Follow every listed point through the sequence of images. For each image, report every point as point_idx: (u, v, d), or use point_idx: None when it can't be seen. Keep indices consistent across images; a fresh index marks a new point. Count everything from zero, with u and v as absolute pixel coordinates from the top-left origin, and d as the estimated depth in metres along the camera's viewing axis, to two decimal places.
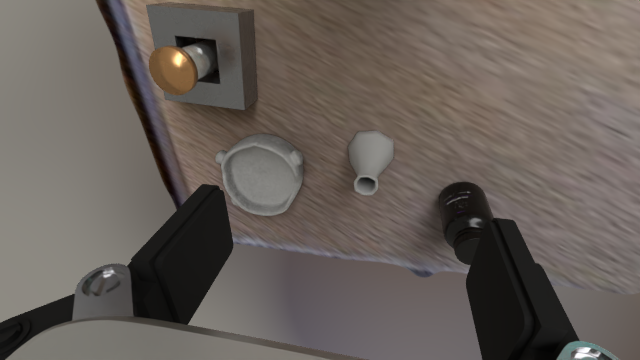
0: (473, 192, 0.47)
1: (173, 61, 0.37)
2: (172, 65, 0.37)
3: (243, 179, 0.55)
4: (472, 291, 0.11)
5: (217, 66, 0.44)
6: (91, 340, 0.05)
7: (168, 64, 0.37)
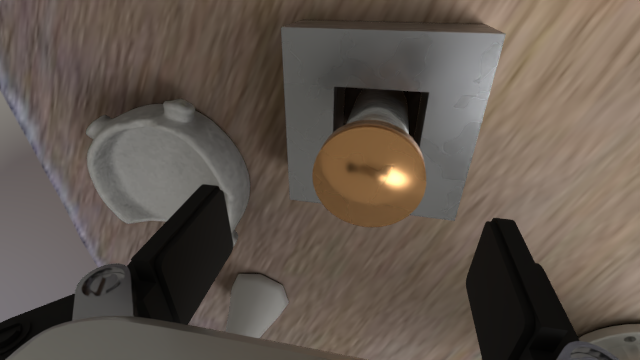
0: None
1: (392, 195, 0.16)
2: (383, 190, 0.16)
3: (149, 138, 0.29)
4: (472, 291, 0.11)
5: None
6: (91, 340, 0.05)
7: (385, 182, 0.15)
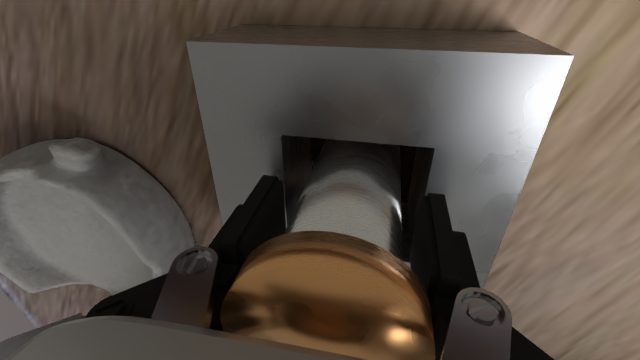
0: None
1: None
2: None
3: (49, 185, 0.21)
4: (412, 260, 0.12)
5: None
6: (91, 340, 0.05)
7: (355, 348, 0.08)
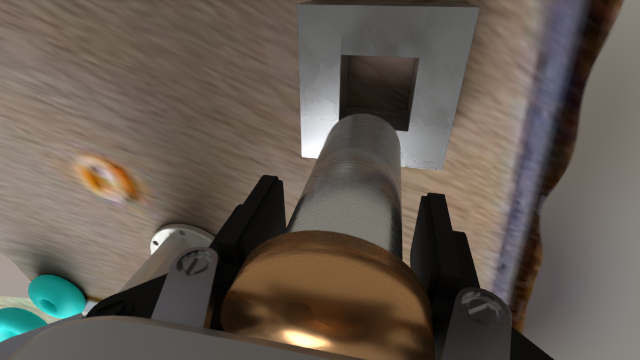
0: None
1: None
2: None
3: None
4: (412, 260, 0.12)
5: None
6: (92, 340, 0.05)
7: (355, 348, 0.08)
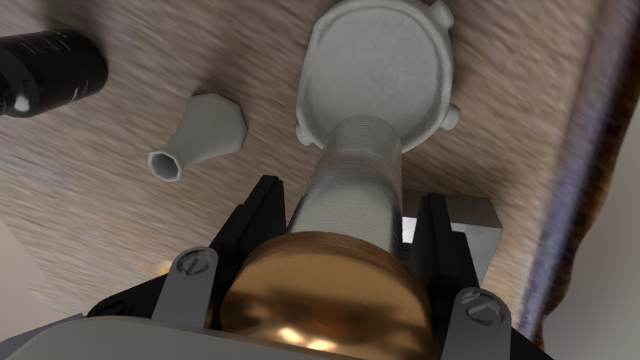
0: None
1: None
2: None
3: (418, 63, 0.27)
4: (412, 260, 0.12)
5: None
6: (92, 340, 0.05)
7: (355, 349, 0.08)
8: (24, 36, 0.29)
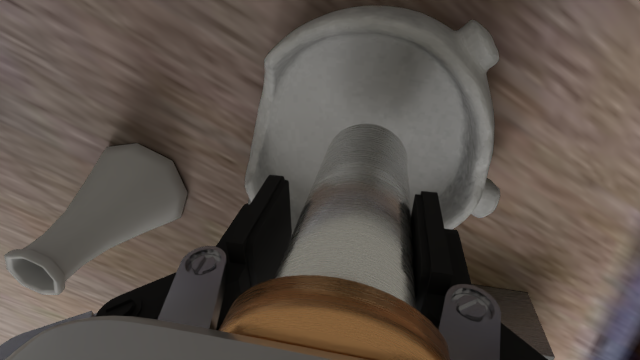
0: None
1: None
2: None
3: (433, 118, 0.17)
4: None
5: None
6: (91, 340, 0.05)
7: None
8: None
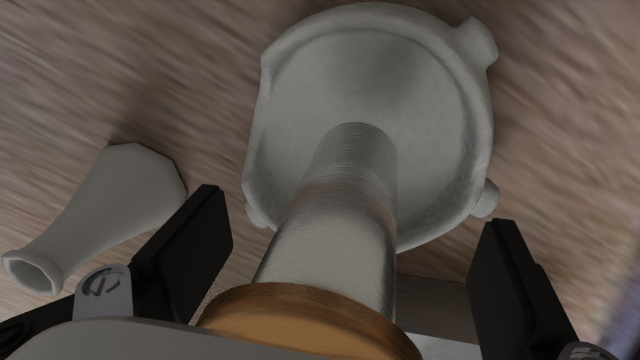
0: None
1: None
2: None
3: (432, 116, 0.17)
4: (472, 291, 0.11)
5: None
6: (91, 340, 0.05)
7: None
8: None
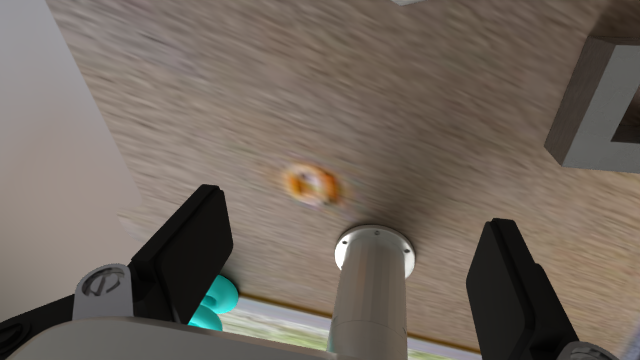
0: None
1: None
2: None
3: None
4: (472, 291, 0.11)
5: None
6: (92, 340, 0.05)
7: None
8: None
